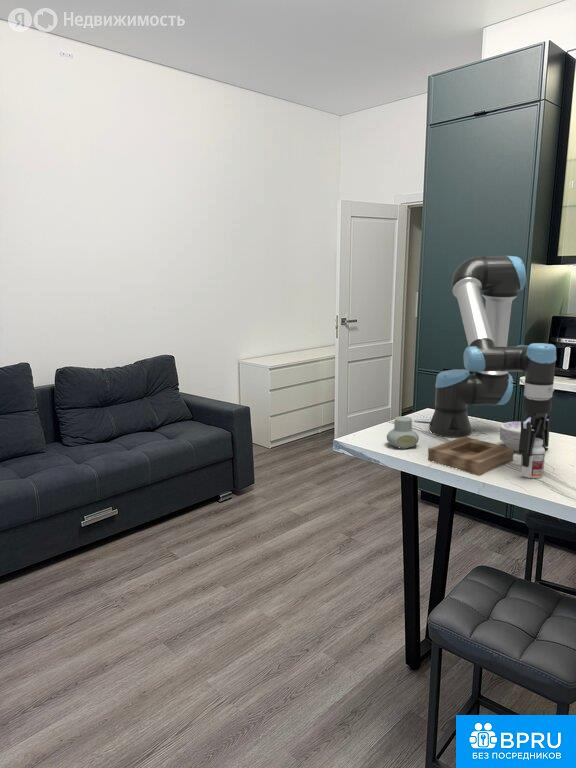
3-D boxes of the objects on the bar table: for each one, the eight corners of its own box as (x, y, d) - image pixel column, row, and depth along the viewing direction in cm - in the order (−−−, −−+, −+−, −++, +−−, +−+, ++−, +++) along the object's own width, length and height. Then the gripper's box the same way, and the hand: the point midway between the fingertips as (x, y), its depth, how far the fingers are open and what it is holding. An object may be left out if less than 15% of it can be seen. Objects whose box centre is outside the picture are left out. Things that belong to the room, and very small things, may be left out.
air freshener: (390, 450, 186) (391, 422, 184) (383, 443, 194) (384, 415, 192) (421, 449, 187) (422, 420, 185) (413, 441, 195) (414, 414, 193)
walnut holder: (428, 460, 176) (428, 448, 175) (463, 447, 188) (463, 436, 188) (478, 475, 162) (479, 462, 161) (513, 460, 175) (513, 448, 174)
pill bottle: (524, 469, 167) (527, 434, 164) (545, 474, 162) (549, 438, 160) (516, 475, 162) (519, 439, 160) (538, 480, 158) (541, 443, 156)
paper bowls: (509, 439, 197) (510, 418, 196) (553, 448, 187) (555, 425, 185) (491, 449, 186) (492, 426, 185) (537, 459, 176) (539, 435, 175)
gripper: (534, 405, 149) (528, 485, 153) (566, 394, 161) (559, 469, 165) (508, 400, 154) (503, 478, 159) (540, 390, 167) (534, 463, 171)
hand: (531, 473), depth 162 cm, fingers closed on pill bottle, 6 cm apart
